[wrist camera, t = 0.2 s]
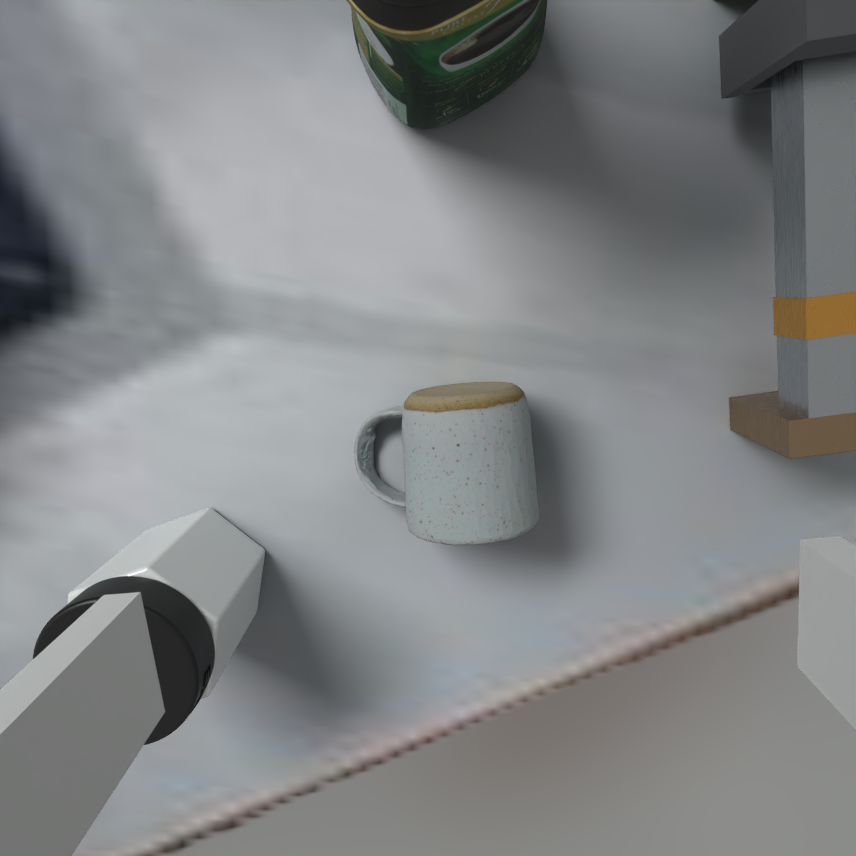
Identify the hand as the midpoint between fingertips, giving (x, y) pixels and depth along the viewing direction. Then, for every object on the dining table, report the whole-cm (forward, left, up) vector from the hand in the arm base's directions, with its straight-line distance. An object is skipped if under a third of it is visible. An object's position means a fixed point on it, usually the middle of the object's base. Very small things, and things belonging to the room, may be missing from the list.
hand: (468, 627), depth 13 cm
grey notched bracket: (-16, +19, -25) cm, 36 cm away
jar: (+9, -18, -28) cm, 34 cm away
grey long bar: (-9, +19, -28) cm, 35 cm away
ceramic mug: (+3, -1, -28) cm, 28 cm away
